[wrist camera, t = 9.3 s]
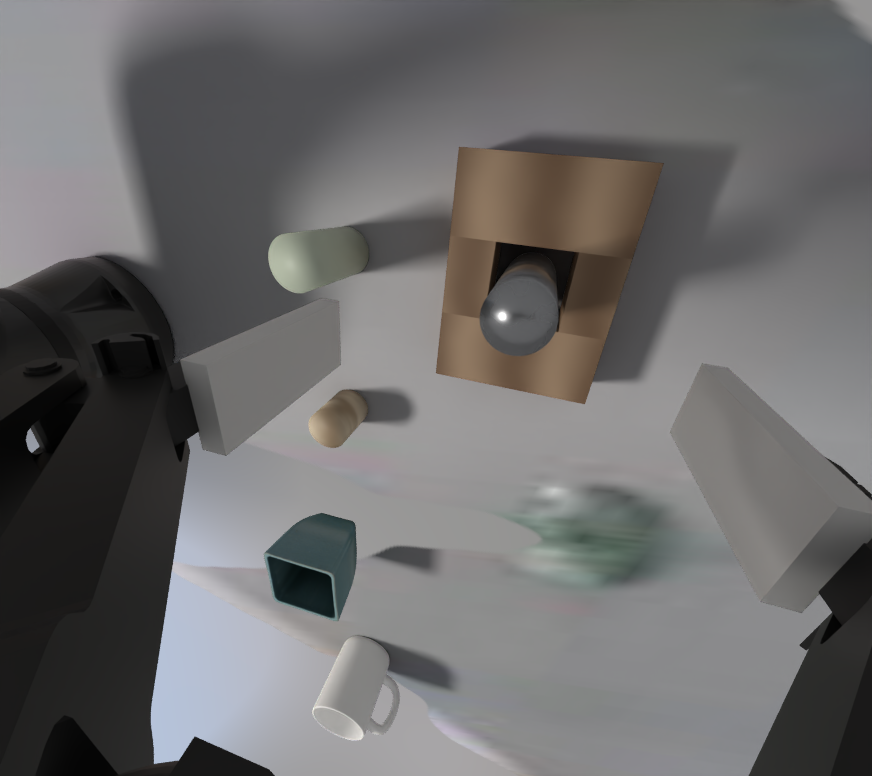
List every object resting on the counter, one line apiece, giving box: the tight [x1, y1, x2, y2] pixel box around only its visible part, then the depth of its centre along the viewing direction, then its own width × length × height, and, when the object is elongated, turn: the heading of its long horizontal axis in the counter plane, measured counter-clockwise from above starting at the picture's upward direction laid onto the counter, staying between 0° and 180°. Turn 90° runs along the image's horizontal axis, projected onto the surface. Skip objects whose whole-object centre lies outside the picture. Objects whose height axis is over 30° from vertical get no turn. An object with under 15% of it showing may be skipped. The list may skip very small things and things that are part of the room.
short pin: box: [309, 390, 368, 448], centre depth 38 cm, size 4×4×5 cm
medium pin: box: [268, 227, 369, 293], centre depth 29 cm, size 4×4×8 cm
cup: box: [312, 636, 400, 741], centre depth 58 cm, size 8×12×10 cm
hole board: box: [436, 147, 664, 404], centre depth 28 cm, size 12×16×4 cm
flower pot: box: [264, 513, 357, 621], centre depth 46 cm, size 9×9×9 cm
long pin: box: [480, 252, 558, 356], centre depth 24 cm, size 4×4×12 cm
